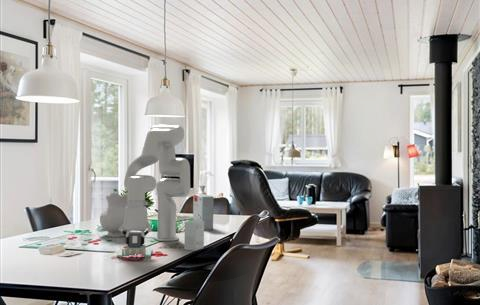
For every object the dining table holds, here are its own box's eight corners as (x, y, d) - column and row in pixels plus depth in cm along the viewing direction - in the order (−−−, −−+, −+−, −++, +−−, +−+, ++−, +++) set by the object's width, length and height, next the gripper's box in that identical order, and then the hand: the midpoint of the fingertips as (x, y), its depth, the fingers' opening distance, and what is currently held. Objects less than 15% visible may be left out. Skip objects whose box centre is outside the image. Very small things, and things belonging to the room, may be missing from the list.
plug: (129, 247, 227) (130, 232, 227) (141, 247, 228) (141, 232, 228) (128, 249, 222) (129, 233, 222) (140, 249, 223) (140, 233, 223)
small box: (192, 246, 247) (193, 219, 247) (204, 248, 244) (204, 220, 244) (183, 249, 240) (184, 221, 240) (195, 250, 237) (196, 222, 237)
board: (121, 251, 232) (121, 243, 232) (152, 251, 233) (152, 243, 233) (116, 258, 218) (116, 249, 218) (150, 257, 219) (150, 249, 219)
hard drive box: (192, 226, 314) (193, 194, 314) (204, 226, 317) (204, 194, 317) (201, 230, 300) (202, 196, 300) (213, 229, 303) (214, 196, 303)
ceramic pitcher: (93, 235, 281) (91, 190, 280) (126, 230, 293) (124, 186, 291) (109, 241, 264) (106, 193, 262) (143, 235, 275) (141, 189, 274)
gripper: (156, 203, 230) (155, 244, 230) (117, 203, 228) (116, 244, 228) (155, 205, 223) (154, 247, 223) (115, 205, 221) (114, 247, 221)
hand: (135, 245), depth 225 cm, fingers closed on plug, 5 cm apart
